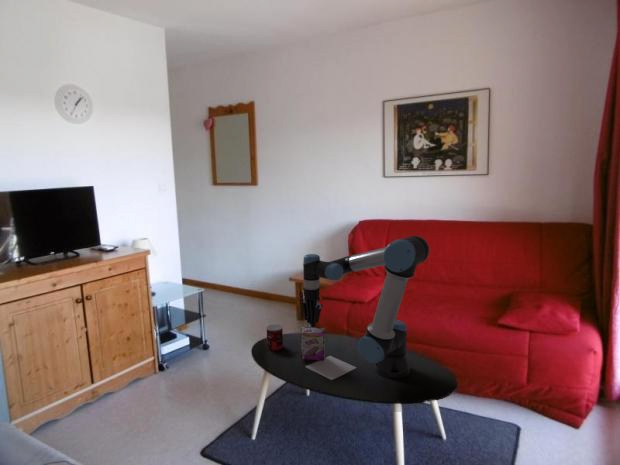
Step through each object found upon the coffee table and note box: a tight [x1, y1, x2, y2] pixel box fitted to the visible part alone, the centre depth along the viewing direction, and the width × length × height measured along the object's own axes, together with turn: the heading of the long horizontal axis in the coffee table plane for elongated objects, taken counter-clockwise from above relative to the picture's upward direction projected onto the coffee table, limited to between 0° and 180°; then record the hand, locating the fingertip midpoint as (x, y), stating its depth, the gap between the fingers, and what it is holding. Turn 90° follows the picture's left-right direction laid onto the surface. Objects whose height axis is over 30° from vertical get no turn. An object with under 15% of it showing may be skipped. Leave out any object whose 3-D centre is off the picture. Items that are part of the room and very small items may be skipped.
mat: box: [304, 355, 357, 381], centre depth 199 cm, size 17×16×1 cm
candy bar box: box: [299, 326, 326, 361], centre depth 204 cm, size 11×5×16 cm, turn 84°
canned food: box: [266, 324, 284, 352], centre depth 221 cm, size 8×8×11 cm
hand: (311, 335), depth 207 cm, fingers closed
